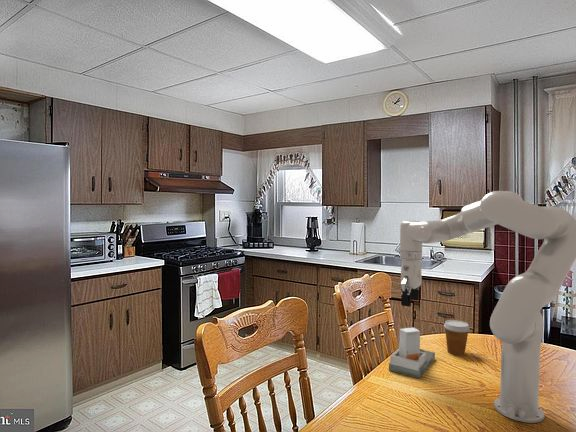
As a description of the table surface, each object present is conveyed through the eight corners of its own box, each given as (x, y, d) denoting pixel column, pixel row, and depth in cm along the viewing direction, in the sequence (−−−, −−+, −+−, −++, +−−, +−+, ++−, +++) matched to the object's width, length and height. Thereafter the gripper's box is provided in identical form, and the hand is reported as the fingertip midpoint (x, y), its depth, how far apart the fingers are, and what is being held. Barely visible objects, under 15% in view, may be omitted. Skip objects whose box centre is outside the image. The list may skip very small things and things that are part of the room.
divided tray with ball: (419, 378, 135) (420, 362, 134) (388, 370, 141) (389, 355, 140) (434, 358, 151) (435, 344, 151) (406, 352, 157) (406, 339, 157)
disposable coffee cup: (438, 350, 159) (438, 321, 159) (455, 347, 163) (455, 318, 163) (457, 359, 151) (457, 328, 150) (474, 355, 155) (475, 325, 154)
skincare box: (405, 365, 139) (405, 332, 138) (398, 361, 143) (399, 328, 142) (420, 363, 140) (420, 330, 140) (413, 359, 145) (413, 327, 144)
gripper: (414, 259, 131) (413, 310, 131) (428, 253, 145) (427, 299, 146) (392, 257, 135) (391, 306, 136) (407, 251, 149) (407, 296, 150)
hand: (410, 302), depth 141 cm, fingers open, 9 cm apart
